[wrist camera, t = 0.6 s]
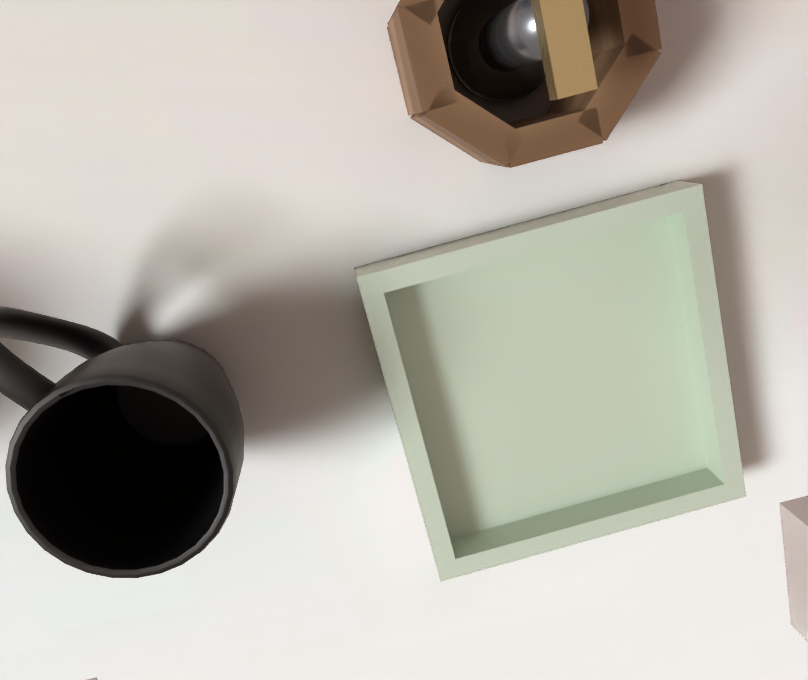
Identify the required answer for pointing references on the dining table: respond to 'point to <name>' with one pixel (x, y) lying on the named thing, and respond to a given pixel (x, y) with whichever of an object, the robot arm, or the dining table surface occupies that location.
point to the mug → (120, 448)
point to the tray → (559, 377)
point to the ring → (568, 117)
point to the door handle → (522, 48)
